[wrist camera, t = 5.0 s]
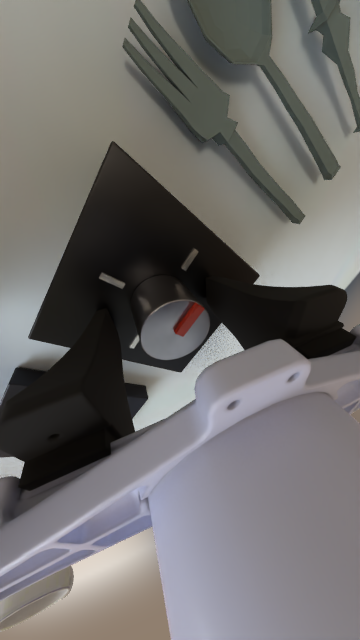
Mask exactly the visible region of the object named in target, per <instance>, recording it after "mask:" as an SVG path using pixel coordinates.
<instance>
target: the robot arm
mask: <svg viewBox="0 0 360 640" xmlns="http://www.w3.org/2000/svg"><path fill="white" fill-rule="evenodd" d="M205 281H206V298H207V304H208V306H209V307H210V309H211V310H212V312H213V313H214V314H215V315H216V317H217V318H218V319H219V320H220V321H221V322H222V323H223V324H224V325H225V326H226V327H227V328H228V329H229V331H230V332H231V333H232V334H233V335H234V336H235V337H236V339H237V340H238V341H239V343H240V344H241V346H242V347H243V348H244V351H242V352H239V353H237V354H234V355H232V356H229V357H227V358H224V359H222V360H219V361H217V362H215V363H213V364H212V365H210V366H208V367H207V368H205V369H204V371H203V372H202V373H201V374H200V375H199V376H198V378H197V380H196V384H195V388H194V389H195V395H196V399H195V400H193V401H192V402H190V403H189V404H187V405H186V406H184V407H183V408H181V409H180V410H178V411H177V412H175V413H174V414H172V415H171V416H169V417H168V418H166V419H163V420H161V421H159V422H157V423H154V424H152V425H150V426H147V427H145V428H143V429H141V430H138V431H136V432H135V430H134V426H133V421H132V417H131V412H130V408H129V403H128V398H127V394H126V389H125V383H124V377H123V367H122V353H121V344H120V339H119V335H118V331H117V329H116V327H115V325H114V323H113V321H112V318H111V316H110V314H109V312H108V310H107V308H104V309H101V310H98V311H96V313H95V314H94V316H93V318H92V319H91V321H90V323H89V324H88V326H87V327H86V329H85V330H84V332H83V333H82V335H81V336H80V337H79V339H78V340H77V342H76V343H75V344H74V345H73V346H72V348H71V349H70V350H69V351H68V352H67V353H66V354H65V355H64V356H63V357H62V358H61V359H60V360H59V361H58V362H57V363H56V364H55V365H54V366H53V367H52V368H51V369H49V370H48V371H47V372H46V373H45V374H43V375H42V376H41V377H40V378H38V379H37V380H36V381H35V382H33V383H32V384H31V385H29V386H28V387H26V388H25V389H24V390H22V391H21V392H19V393H18V394H16V395H15V396H14V397H12V398H11V399H9V400H8V401H7V402H6V404H5V406H4V408H3V411H2V413H1V415H0V450H1V451H3V452H5V453H7V454H9V455H12V456H14V457H16V458H18V459H20V460H22V461H24V462H25V463H24V467H23V471H22V475H21V478H20V479H19V478H17V477H13V476H9V477H3V478H0V601H2V600H4V599H5V598H7V597H9V596H11V595H13V594H15V593H17V592H19V591H21V590H22V589H24V588H26V587H28V586H30V585H32V584H34V583H36V582H38V581H40V580H42V579H44V578H46V577H48V576H50V575H52V574H54V573H56V572H58V571H60V570H62V569H64V568H66V567H68V566H70V565H73V564H74V563H77V562H79V561H81V560H83V559H85V558H87V557H89V556H91V555H93V554H96V553H98V552H100V551H102V550H104V549H106V548H108V547H110V546H112V545H114V544H117V543H119V542H121V541H123V540H125V539H127V538H129V537H132V536H134V535H136V534H138V533H140V532H142V531H144V530H146V529H148V528H150V527H153V531H154V532H153V533H154V539H155V545H156V551H157V557H158V563H159V569H160V575H161V581H162V587H163V593H164V600H165V606H166V612H167V618H168V624H169V630H170V636H171V640H360V423H359V422H358V421H356V420H355V419H354V418H353V417H352V416H351V415H350V414H351V413H353V412H355V411H356V410H358V409H359V408H360V324H359V325H357V326H355V327H354V328H353V329H352V330H351V331H350V333H349V332H348V331H346V330H344V329H342V327H343V326H344V325H343V323H341V322H339V321H338V319H339V317H340V315H341V313H342V311H343V309H344V307H345V304H346V301H347V294H346V291H345V290H343V289H341V288H338V287H336V286H333V285H323V286H312V287H271V286H262V285H255V284H249V283H244V282H240V281H235V280H231V279H227V278H223V277H218V276H211V277H208V278H205Z"/></svg>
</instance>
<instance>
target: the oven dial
mask: <svg viewBox="0 0 360 640" xmlns="http://www.w3.org/2000/svg"><path fill="white" fill-rule="evenodd" d="M131 311H132V315H133V318H134V322H135V326H136V329H137V333H138V336H139V340H140V343H141V346H142V348H143V350H144V351H145V352H146V353H147V354H148V355H150V356H152V357H154V358H156V359H161V360H172V359H177V358H180V357H183V356H185V355H187V354H189V353H191V352H192V351H194V350H195V349H196V348H197V347H198V346H199V345H200V344H201V343H202V342H203V341H204V339H205V338H206V336H207V334H208V331H209V327H210V317H209V314H208V312H207V310H206V309H205V307H204V306H203V305H202V304H201V303H200V302H199V301H198V300H197V299H196V297H195V296H194V295H193V294H192V293H191V292H190V291H189V290H188V289H187V287H186V286H185V285H184V284H183V283H182V282H181V281H180V280H178V279H177V278H175V277H172V276H168V275H158V276H154V277H151V278H149V279H147V280H145V281H144V282H142V283H141V284H140V285H139V286H138V287H137V288H136V290H135V291H134V293H133V295H132V298H131Z"/></svg>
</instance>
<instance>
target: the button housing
mask: <svg viewBox="0 0 360 640" xmlns="http://www.w3.org/2000/svg"><path fill="white" fill-rule="evenodd" d="M45 373H46V372H45V371H38V370H31V369H25V368H18V367H17V368H16V369H15V371H14V373H13V375H12V377H11V380H10V382H9V384H8V386H7V389H6V391H5V393H4V396H3V398H2V400H1V403H0V415H1V413H2V411H3V408H4V406H5V404H6V402H7V401H8V400H9V399H11V398H12V397H14V396H15V395H16V394H18V393H19V392H21V391H22V390H24V389H25V388H26V387H28V386H29V385H31V384H32V383H33V382H35V381H36V380H37V379H38V378H40V377H41V376H42V375H43V374H45ZM125 389H126V394H127V398H128V403H129V408H130V412H131V417H132V419H133V417H134V416H135V415H136V413H137V412H138V411H139V410H140V408H141V407H142V406H143V405H144V403H145V402H146V401H147V400H148V395H147V391H146V387H145V386H141V385H134V384H127V383H125ZM0 457H13V456H12V455H9V454H7V453H5V452H3V451H1V450H0Z"/></svg>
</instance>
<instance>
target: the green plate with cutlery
mask: <svg viewBox="0 0 360 640" xmlns="http://www.w3.org/2000/svg"><path fill="white" fill-rule="evenodd" d="M187 1H188V3H189V6H190V8H191V10H192V12H193V14H194V16H195V18H196V21H197V23H198V25H199V27H200V29H201V31H202V34H203V36H204V38H205V40H206V41H207V42H208V43H209V44H210V45H211V46H212V47H213V48H214V49H215V50H216V51H217V52H219V53H220V54H221V55H222V56H223V57H224V58H225V59H226V60H227V61H228V62H229V63H232V64H256V65H258V66H260V67H261V69H262V70H263V72H264V73H265V75H266V77H267V78H268V80H269V81H270V83H271V84H272V86H273V87H274V89H275V91H276V92H277V94H278V96H279V98H280V99H281V101H282V103H283V104H284V106H285V108H286V110H287V111H288V113H289V114H290V116H291V118H292V119H293V121H294V122H295V124H296V125H297V127H298V129H299V131H300V132H301V134H302V136H303V138H304V140H305V142H306V144H307V146H308V148H309V150H310V151H311V153H312V155H313V157H314V159H315V161H316V163H317V165H318V168H319V170H320V172H321V173H322V175H323V178H324V180H332V179H333V177H334V176H335V174H336V173H337V172H338V170H339V169H340V167H341V166H339V164H338V162H337V160H336V158H335V157H334V155H333V153H332V152H331V150H330V148H329V146H328V145H327V143H326V141H325V140H324V138H323V136H322V135H321V133H320V131H319V129H318V128H317V126H316V124H315V122H314V121H313V119H312V117H311V116H310V114H309V113H308V111H307V110H306V109H305V107H304V106H303V104H302V103H301V101H300V100H299V99H298V97H297V95H296V94H295V92H294V91H293V89H292V88H291V86H290V84H289V83H288V81H287V80H286V78H285V77H284V75H283V74H282V73H281V71H280V70H279V68H278V67H277V66H276V64H275V63H274V61H273V60H272V59H271V57H270V56H269V53H270V46H271V39H272V17H271V0H187ZM311 2H312V4H313V7H314V10H315V13H316V16H317V17H316V19H315V21H314V23H313V24H312V26H311V28H310V30H309V32H308V34H309V33H311V32H313V31H315V30H317V31H319V32H320V33H321V34H322V35H324V37H323V47H322V52H323V53H324V54H325V55H327V56H328V57H329V58H330V59H331V60H333V61H334V62H335V63H336V64H337V65H338V68H339V71H340V74H341V77H342V80H343V83H344V85H345V88H346V90H347V92H348V95H349V97H350V100H351V104H352V108H353V112H354V116H355V120H356V124H357V128H356V129H355V131H354V132H353V133H355V132H359V131H360V97H359V94H358V91H357V85H356V78H355V72H354V68H353V65H352V62H351V58H350V55H349V51H348V48H349V31H350V17H348V16H346V15H344V14H342V13H341V11H340V6H339V3H340V0H311ZM134 8H135V9H136V11H137V12H138V14H139V15H140V17H141V18H142V20H143V21H144V23H145V24H146V26H147V27H148V29H149V31H150V32H151V34H152V35H153V36H154V38H155V39H156V40H157V41H158V43H159V44H160V45H161V47H162V48H163V49H164V51H165V52H166V53H167V55H168V56H169V57H170V59H171V60H172V61H173V63H174V64H175V65H176V66H177V67H176V66H175V65H174V64H173V63H172V62H171V61H170V60H169V59H168V58H167V57H166V56H165V55H164V54H163V53H162V52H161V51H160V50H159V49H158V48H157V47H156V46H155V45H154V44H153V43H152V41H151V40H150V39H149V38H148V37H147V36H146V35H145V33H144V32H143V31H142V30H141V29H140V28H139V26H138V25H137V24H136V23H135V22H134V20H133V19H132V18H130V22H129V26H128V28H129V29H130V31H131V32H132V34H133V35H134V36H135V38H136V39H137V41H138V42H139V43H140V45H141V46H142V48H143V49H144V51H145V52H146V53H147V54H148V56H149V57H150V58H151V59H152V61H153V62H154V63H155V64H156V66H157V67H158V68H159V69H160V70H161V72H162V73H163V74H164V75H165V77H166V78H167V79H168V80H169V82H170V83H171V84H172V85H173V86H174V87H173V86H172V85H171V84H170V83H169V82H168V81H167V80H166V79H165V78H164V77H163V76H161V75H160V74H159V73H158V72H157V71H156V70H155V69H154V68H153V67H152V66H151V65H150V64H149V63H148V62H147V61H146V60H145V59H144V58H143V57H142V56H141V54H140V53H139V52H138V51H137V50H136V49H135V48H134V47H133V46H132V45H131V44H130V42H129V41H128V40H127V39H126V38H125V39H124V43H123V48H124V49H125V51H126V52H127V53H128V55H129V56H130V57H131V59H132V60H133V61H134V63H135V64H136V65H137V66H138V68H139V69H140V70H141V71H142V73H143V74H144V75H145V76H146V77H147V78H148V79H149V81H150V82H151V83H152V84H153V85H154V86H155V88H156V89H157V90H158V91H159V92H160V93H161V94H162V96H163V97H164V98H165V99H166V100H167V101H168V103H169V104H170V105H171V106H172V107H173V109H174V110H175V111H176V112H177V114H178V115H179V116H180V117H181V119H182V120H183V121H184V123H185V124H186V125H187V127H188V128H189V129H190V131H191V132H192V133H193V134H194V135H195V136H196V137H197V138H198V139H199V140H200V141H201V142H202V143H203V142H205V141H208V140H209V139H211V138H212V139H213V140H214V141H215V142H216V143H217V145H218V146H220V145H223V144H225V145H226V147H227V148H228V149H229V150H230V152H231V153H232V154H233V155H234V156H235V158H236V159H237V160H238V161H239V163H240V164H241V165H242V167H243V168H244V169H245V171H246V172H247V173H248V174H249V176H250V177H251V178H252V179H253V180H254V181H255V182H256V183H257V184H258V186H259V187H260V188H261V189H262V190H263V191H264V192H265V193H266V194H267V195H268V196H269V197H270V198H271V199H272V200H273V201H274V202H275V203H276V204H277V205H278V206H279V208H280V209H281V210H282V211H283V212H284V213H285V214H286V216H287V217H288V218H289V219H290V220H291V222H292V223H297V224H300V223H301V222H302V220H303V219H304V217H305V215H304V214H303V213H302V212H301V210H300V209H299V208H298V207H297V205H296V204H295V203H294V202H293V200H292V199H291V198H290V197H289V196H288V195H287V194H286V193H285V192H284V191H283V190H282V189H281V188H280V186H279V185H278V184H277V183H276V182H275V181H274V180H273V178H272V177H271V176H270V175H269V174H268V173H267V171H266V170H265V169H264V168H263V167H262V165H261V164H260V163H259V162H258V160H257V159H256V157H255V156H254V155H253V153H252V152H251V150H250V149H249V147H248V146H247V145H246V143H245V142H244V141H243V140H242V138H241V137H240V136H239V134H238V133H237V132H236V130H235V128H236V126H237V124H238V122H235V121H233V120H231V119H229V118H227V114H228V105H229V96H230V95H228V94H226V93H224V92H223V91H222V90H221V89H220V88H219V87H218V86H217V85H216V84H215V83H214V82H213V81H212V80H211V79H210V78H209V77H208V76H207V75H206V74H205V73H204V72H203V71H202V70H201V68H200V67H199V66H198V65H197V64H196V63H195V62H194V61H193V60H192V59H191V58H190V57H189V56H188V55H187V54H186V53H185V52H184V50H183V49H182V48H181V47H180V46H179V45H178V44H177V43H176V42H175V41H174V40H173V39H172V38H171V37H170V36H169V34H168V33H167V32H166V31H165V30H164V29H163V28H162V26H161V25H160V24H159V23H158V22H157V21H156V19H155V18H154V17H153V16H152V14H151V13H150V12H149V11H148V9H147V8H146V7H145V5H144V4H143V3H142V2H141V0H136V1H135V5H134Z"/></svg>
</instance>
